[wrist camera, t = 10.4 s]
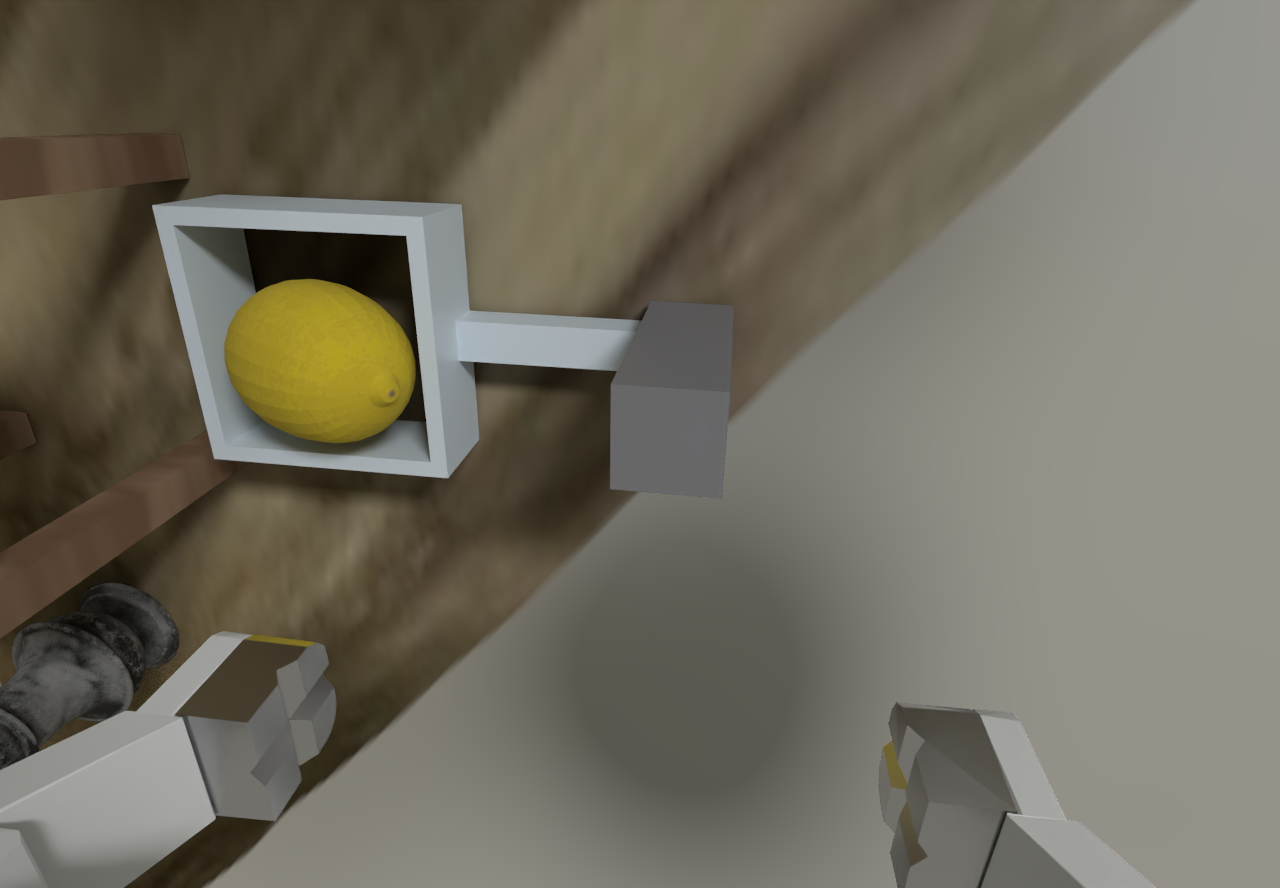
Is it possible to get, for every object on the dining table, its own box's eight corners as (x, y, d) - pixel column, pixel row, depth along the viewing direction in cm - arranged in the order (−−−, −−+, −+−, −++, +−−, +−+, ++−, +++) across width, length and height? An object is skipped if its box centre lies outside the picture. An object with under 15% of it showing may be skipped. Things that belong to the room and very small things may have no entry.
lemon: (208, 424, 27) (332, 501, 23) (161, 280, 24) (293, 338, 20) (339, 374, 31) (466, 433, 27) (312, 245, 28) (449, 289, 24)
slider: (268, 423, 31) (97, 535, 23) (221, 194, 27) (-5, 229, 19) (721, 457, 29) (713, 594, 21) (741, 215, 25) (740, 265, 17)
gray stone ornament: (78, 559, 36) (-211, 753, 25) (191, 606, 36) (-46, 818, 25) (72, 643, 38) (-194, 852, 27) (177, 686, 39) (-43, 909, 28)
